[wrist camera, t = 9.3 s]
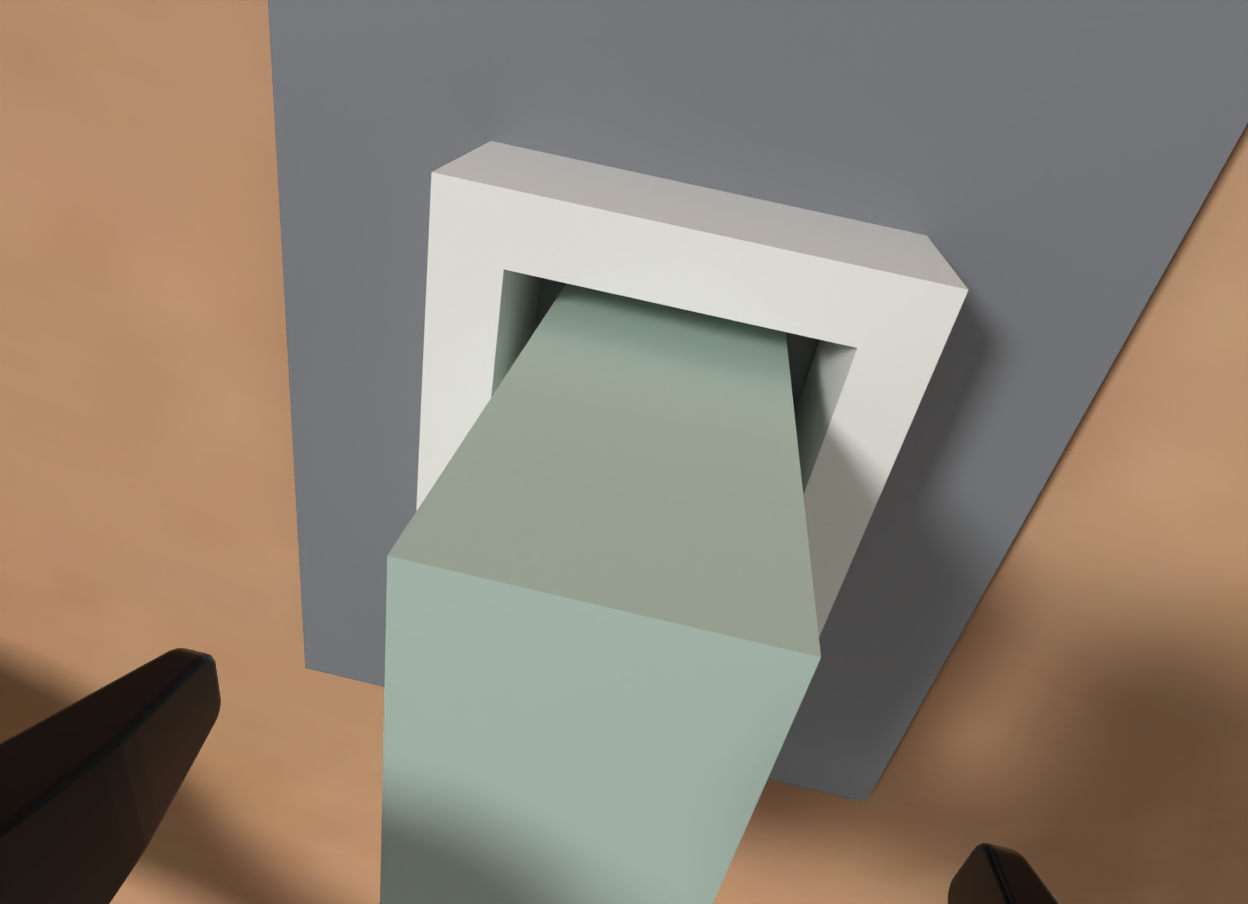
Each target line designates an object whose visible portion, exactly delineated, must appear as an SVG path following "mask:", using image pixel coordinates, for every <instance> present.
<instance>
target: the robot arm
mask: <svg viewBox="0 0 1248 904" xmlns="http://www.w3.org/2000/svg"><path fill="white" fill-rule="evenodd" d="M220 704H221V698H220V691H219V684H218V677H217V670H216V663H215V660H214V659H213V657H212V656H211V655H209V654H206V653H202V652H198V651H194V650H190V649H185V648H177V649H174V650H171V651H168V652H166V653H165V654H163V655H161V656H159V657H157V658H155V659H154V660H152V661H150V662H148V663H146V664H144V665H143V666H141V667H139V668H137V669H135V670H133V671H132V672H130V673H128V674H126V675H124V676H122V677H121V678H119V679H117V680H115V681H113V682H111V683H110V684H108V685H106V686H104V687H102V688H100V689H99V690H97V691H95V692H93V693H91V694H89V695H88V696H86V697H84V698H82V699H80V700H78V701H77V702H75V703H73V704H71V705H69V706H67V707H66V708H64V709H62V710H60V711H58V712H56V713H55V714H53V715H51V716H49V717H47V718H45V719H44V720H42V721H40V722H38V723H36V724H34V725H33V726H31V727H29V728H27V729H25V730H23V731H22V732H20V733H18V734H16V735H14V736H12V737H11V738H9V739H7V740H5V741H3V742H1V743H0V904H110V902H111V901H112V899H113V898H114V896H115V895H116V893H117V892H118V890H119V889H120V887H121V886H122V884H123V883H124V881H125V880H126V878H127V877H128V875H129V874H130V872H131V871H132V869H133V868H134V866H135V865H136V863H137V862H138V860H139V859H140V857H141V855H142V854H143V852H144V851H145V849H146V848H147V846H148V844H149V843H150V841H151V839H152V837H153V836H154V834H155V832H156V830H157V829H158V827H159V825H160V823H161V821H162V819H163V818H164V816H165V814H166V812H167V810H168V808H169V807H170V805H171V803H172V801H173V799H174V797H175V795H176V794H177V792H178V790H179V788H180V786H181V784H182V783H183V781H184V779H185V777H186V775H187V773H188V771H189V770H190V768H191V766H192V764H193V762H194V760H195V759H196V757H197V755H198V753H199V751H200V749H201V747H202V746H203V744H204V742H205V740H206V738H207V736H208V735H209V733H210V731H211V729H212V727H213V725H214V723H215V721H216V719H217V717H218V714H219V710H220ZM948 904H1058V902H1057V901H1056V900H1055V898H1054V897H1053V896H1052V894H1051V893H1050V892H1049V890H1048V889H1047V888H1046V886H1045V885H1044V884H1043V882H1042V881H1041V879H1040V878H1039V877H1038V875H1037V874H1036V873H1035V871H1034V870H1033V869H1032V867H1031V866H1030V865H1029V863H1028V862H1027V861H1026V859H1025V858H1024V857H1023V856H1022V855H1021V854H1019V853H1018V852H1016V851H1014V850H1012V849H1008V848H1004V847H1000V846H996V845H991V844H987V843H983V844H980V845H978V846H977V847H976V848H975V849H974V850H973V852H972V853H971V854H970V856H969V857H968V859H967V860H966V861H965V863H964V864H963V866H962V867H961V868H960V870H959V871H958V872H957V874H956V875H955V877H954V878H953V880H952V882H951V884H950V887H949V892H948Z"/></svg>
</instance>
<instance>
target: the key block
mask: <svg viewBox="0 0 1248 904" xmlns="http://www.w3.org/2000/svg"><path fill="white" fill-rule="evenodd" d="M820 659H821V652H820V643H819V634H818V625H817V616H816V606H815V597H814V588H813V579H812V570H811V561H810V552H809V542H808V533H807V524H806V515H805V506H804V497H803V487H802V478H801V469H800V460H799V451H798V442H797V433H796V423H795V414H794V405H793V396H792V387H791V378H790V368H789V359H788V350H787V341H786V332H783V331H779V330H774V329H770V328H765V327H761V326H756V325H752V324H747V323H743V322H738V321H734V320H729V319H725V318H720V317H716V316H711V315H707V314H702V313H698V312H693V311H689V310H684V309H680V308H675V307H671V306H666V305H662V304H657V303H653V302H648V301H644V300H639V299H635V298H630V297H626V296H621V295H617V294H612V293H608V292H603V291H599V290H594V289H590V288H585V287H581V286H576V285H572V284H567V283H566V285H565V286H564V288H563V289H562V291H561V292H560V294H559V295H558V297H557V298H556V300H555V301H554V303H553V305H552V306H551V308H550V309H549V311H548V312H547V314H546V315H545V317H544V318H543V320H542V321H541V323H540V324H539V326H538V327H537V329H536V330H535V332H534V333H533V335H532V336H531V338H530V339H529V341H528V343H527V344H526V346H525V347H524V349H523V350H522V352H521V353H520V355H519V356H518V358H517V359H516V361H515V362H514V364H513V365H512V367H511V368H510V370H509V371H508V373H507V374H506V376H505V377H504V379H503V381H502V382H501V384H500V385H499V387H498V388H497V390H496V391H495V393H494V394H493V396H492V397H491V399H490V400H489V402H488V403H487V405H486V406H485V408H484V409H483V411H482V412H481V414H480V415H479V417H478V419H477V420H476V422H475V423H474V425H473V426H472V428H471V429H470V431H469V432H468V434H467V435H466V437H465V438H464V440H463V441H462V443H461V444H460V446H459V447H458V449H457V450H456V452H455V453H454V455H453V457H452V458H451V460H450V461H449V463H448V464H447V466H446V467H445V469H444V470H443V472H442V473H441V475H440V476H439V478H438V479H437V481H436V482H435V484H434V485H433V487H432V488H431V490H430V491H429V493H428V495H427V496H426V498H425V499H424V501H423V502H422V504H421V505H420V507H419V508H418V510H417V511H416V513H415V514H414V516H413V517H412V519H411V520H410V522H409V523H408V525H407V526H406V528H405V529H404V531H403V533H402V534H401V536H400V537H399V539H398V540H397V542H396V543H395V545H394V546H393V548H392V549H391V551H390V552H389V554H388V555H387V591H386V640H385V689H384V737H383V786H382V835H381V883H380V904H713V902H714V900H715V898H716V895H717V893H718V891H719V888H720V886H721V884H722V882H723V879H724V877H725V875H726V873H727V870H728V868H729V866H730V863H731V861H732V859H733V857H734V854H735V852H736V850H737V848H738V845H739V843H740V841H741V838H742V836H743V834H744V832H745V829H746V827H747V825H748V822H749V820H750V818H751V816H752V813H753V811H754V809H755V807H756V804H757V802H758V800H759V797H760V795H761V793H762V791H763V788H764V786H765V784H766V782H767V779H768V777H769V775H770V772H771V770H772V768H773V766H774V763H775V761H776V759H777V757H778V754H779V752H780V750H781V747H782V745H783V743H784V741H785V738H786V736H787V734H788V732H789V729H790V727H791V725H792V722H793V720H794V718H795V716H796V713H797V711H798V709H799V706H800V704H801V702H802V700H803V697H804V695H805V693H806V691H807V688H808V686H809V684H810V681H811V679H812V677H813V675H814V672H815V670H816V668H817V666H818V663H819V661H820Z"/></svg>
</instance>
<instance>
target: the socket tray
mask: <svg viewBox="0 0 1248 904" xmlns="http://www.w3.org/2000/svg"><path fill="white" fill-rule="evenodd" d="M268 8H269V26H270V44H271V62H272V80H273V98H274V116H275V133H276V151H277V169H278V187H279V205H280V223H281V241H282V259H283V276H284V294H285V312H286V330H287V348H288V366H289V384H290V402H291V420H292V437H293V455H294V473H295V491H296V509H297V527H298V545H299V563H300V580H301V598H302V616H303V634H304V652H305V668H308V669H312V670H316V671H320V672H325V673H329V674H333V675H337V676H341V677H345V678H349V679H354V680H358V681H362V682H366V683H370V684H374V685H379V686H383V687H385V640H386V591H387V555H388V554H389V552H390V551H391V549H392V548H393V546H394V545H395V543H396V542H397V540H398V539H399V537H400V536H401V534H402V533H403V531H404V529H405V528H406V526H407V525H408V523H409V522H410V520H411V519H412V517H413V516H414V514H415V513H416V511H417V510H418V508H419V507H420V505H421V504H422V502H423V501H424V499H425V498H426V496H427V495H428V493H429V491H430V490H431V488H432V487H433V485H434V484H435V482H436V481H437V479H438V478H439V476H440V475H441V473H442V472H443V470H444V469H445V467H446V466H447V464H448V463H449V461H450V460H451V458H452V457H453V455H454V453H455V452H456V450H457V449H458V447H459V446H460V444H461V443H462V441H463V440H464V438H465V437H466V435H467V434H468V432H469V431H470V429H471V428H472V426H473V425H474V423H475V422H476V420H477V419H478V417H479V415H480V414H481V412H482V411H483V409H484V408H485V406H486V405H487V403H488V402H489V400H490V399H491V397H492V396H493V394H494V393H495V391H496V390H497V388H498V387H499V385H500V384H501V382H502V381H503V379H504V377H505V376H506V374H507V373H508V371H509V370H510V368H511V367H512V365H513V364H514V362H515V361H516V359H517V358H518V356H519V355H520V353H521V352H522V350H523V349H524V347H525V346H526V344H527V343H528V341H529V339H530V338H531V336H532V335H533V333H534V332H535V330H536V329H537V327H538V326H539V324H540V323H541V321H542V320H543V318H544V317H545V315H546V314H547V312H548V311H549V309H550V308H551V306H552V305H553V303H554V301H555V300H556V298H557V297H558V295H559V294H560V292H561V291H562V289H563V288H564V286H565V285H566V283H567V284H572V285H576V286H581V287H585V288H590V289H594V290H599V291H603V292H608V293H612V294H617V295H621V296H626V297H630V298H635V299H639V300H644V301H648V302H653V303H657V304H662V305H666V306H671V307H675V308H680V309H684V310H689V311H693V312H698V313H702V314H707V315H711V316H716V317H720V318H725V319H729V320H734V321H738V322H743V323H747V324H752V325H756V326H761V327H765V328H770V329H774V330H779V331H783V332H786V341H787V350H788V359H789V368H790V378H791V387H792V396H793V405H794V414H795V423H796V433H797V442H798V451H799V460H800V469H801V478H802V487H803V497H804V506H805V515H806V524H807V533H808V542H809V552H810V561H811V570H812V579H813V588H814V597H815V606H816V616H817V625H818V634H819V643H820V652H821V659H820V661H819V663H818V666H817V668H816V670H815V672H814V675H813V677H812V679H811V681H810V684H809V686H808V688H807V691H806V693H805V695H804V697H803V700H802V702H801V704H800V706H799V709H798V711H797V713H796V716H795V718H794V720H793V722H792V725H791V727H790V729H789V732H788V734H787V736H786V738H785V741H784V743H783V745H782V747H781V750H780V752H779V754H778V757H777V759H776V761H775V763H774V766H773V768H772V770H771V772H770V775H769V777H768V779H770V780H774V781H778V782H783V783H787V784H791V785H795V786H799V787H803V788H808V789H812V790H816V791H820V792H824V793H828V794H833V795H837V796H841V797H845V798H849V799H853V800H858V801H862V802H866V801H867V800H868V798H869V796H870V794H871V792H872V791H873V789H874V787H875V785H876V784H877V782H878V780H879V778H880V776H881V775H882V773H883V771H884V769H885V768H886V766H887V764H888V762H889V760H890V759H891V757H892V755H893V753H894V751H895V750H896V748H897V746H898V744H899V743H900V741H901V739H902V737H903V735H904V734H905V732H906V730H907V728H908V727H909V725H910V723H911V721H912V719H913V718H914V716H915V714H916V712H917V711H918V709H919V707H920V705H921V703H922V702H923V700H924V698H925V696H926V695H927V693H928V691H929V689H930V687H931V686H932V684H933V682H934V680H935V679H936V677H937V675H938V673H939V671H940V670H941V668H942V666H943V664H944V663H945V661H946V659H947V657H948V655H949V654H950V652H951V650H952V648H953V646H954V645H955V643H956V641H957V639H958V638H959V636H960V634H961V632H962V630H963V629H964V627H965V625H966V623H967V622H968V620H969V618H970V616H971V614H972V613H973V611H974V609H975V607H976V606H977V604H978V602H979V600H980V598H981V597H982V595H983V593H984V591H985V590H986V588H987V586H988V584H989V582H990V581H991V579H992V577H993V575H994V574H995V572H996V570H997V568H998V566H999V565H1000V563H1001V561H1002V559H1003V558H1004V556H1005V554H1006V552H1007V550H1008V549H1009V547H1010V545H1011V543H1012V541H1013V540H1014V538H1015V536H1016V534H1017V533H1018V531H1019V529H1020V527H1021V525H1022V524H1023V522H1024V520H1025V518H1026V517H1027V515H1028V513H1029V511H1030V509H1031V508H1032V506H1033V504H1034V502H1035V501H1036V499H1037V497H1038V495H1039V493H1040V492H1041V490H1042V488H1043V486H1044V485H1045V483H1046V481H1047V479H1048V477H1049V476H1050V474H1051V472H1052V470H1053V469H1054V467H1055V465H1056V463H1057V461H1058V460H1059V458H1060V456H1061V454H1062V453H1063V451H1064V449H1065V447H1066V445H1067V444H1068V442H1069V440H1070V438H1071V436H1072V435H1073V433H1074V431H1075V429H1076V428H1077V426H1078V424H1079V422H1080V420H1081V419H1082V417H1083V415H1084V413H1085V412H1086V410H1087V408H1088V406H1089V404H1090V403H1091V401H1092V399H1093V397H1094V396H1095V394H1096V392H1097V390H1098V388H1099V387H1100V385H1101V383H1102V381H1103V380H1104V378H1105V376H1106V374H1107V372H1108V371H1109V369H1110V367H1111V365H1112V364H1113V362H1114V360H1115V358H1116V356H1117V355H1118V353H1119V351H1120V349H1121V348H1122V346H1123V344H1124V342H1125V340H1126V339H1127V337H1128V335H1129V333H1130V332H1131V330H1132V328H1133V326H1134V324H1135V323H1136V321H1137V319H1138V317H1139V315H1140V314H1141V312H1142V310H1143V308H1144V307H1145V305H1146V303H1147V301H1148V299H1149V298H1150V296H1151V294H1152V292H1153V291H1154V289H1155V287H1156V285H1157V283H1158V282H1159V280H1160V278H1161V276H1162V275H1163V273H1164V271H1165V269H1166V267H1167V266H1168V264H1169V262H1170V260H1171V259H1172V257H1173V255H1174V253H1175V251H1176V250H1177V248H1178V246H1179V244H1180V243H1181V241H1182V239H1183V237H1184V235H1185V234H1186V232H1187V230H1188V228H1189V227H1190V225H1191V223H1192V221H1193V219H1194V218H1195V216H1196V214H1197V212H1198V210H1199V209H1200V207H1201V205H1202V203H1203V202H1204V200H1205V198H1206V196H1207V194H1208V193H1209V191H1210V189H1211V187H1212V186H1213V184H1214V182H1215V180H1216V178H1217V177H1218V175H1219V173H1220V171H1221V170H1222V168H1223V166H1224V164H1225V162H1226V161H1227V159H1228V157H1229V155H1230V154H1231V152H1232V150H1233V148H1234V146H1235V145H1236V143H1237V141H1238V139H1239V138H1240V136H1241V134H1242V132H1243V130H1244V129H1245V127H1246V125H1247V123H1248V0H268Z"/></svg>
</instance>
